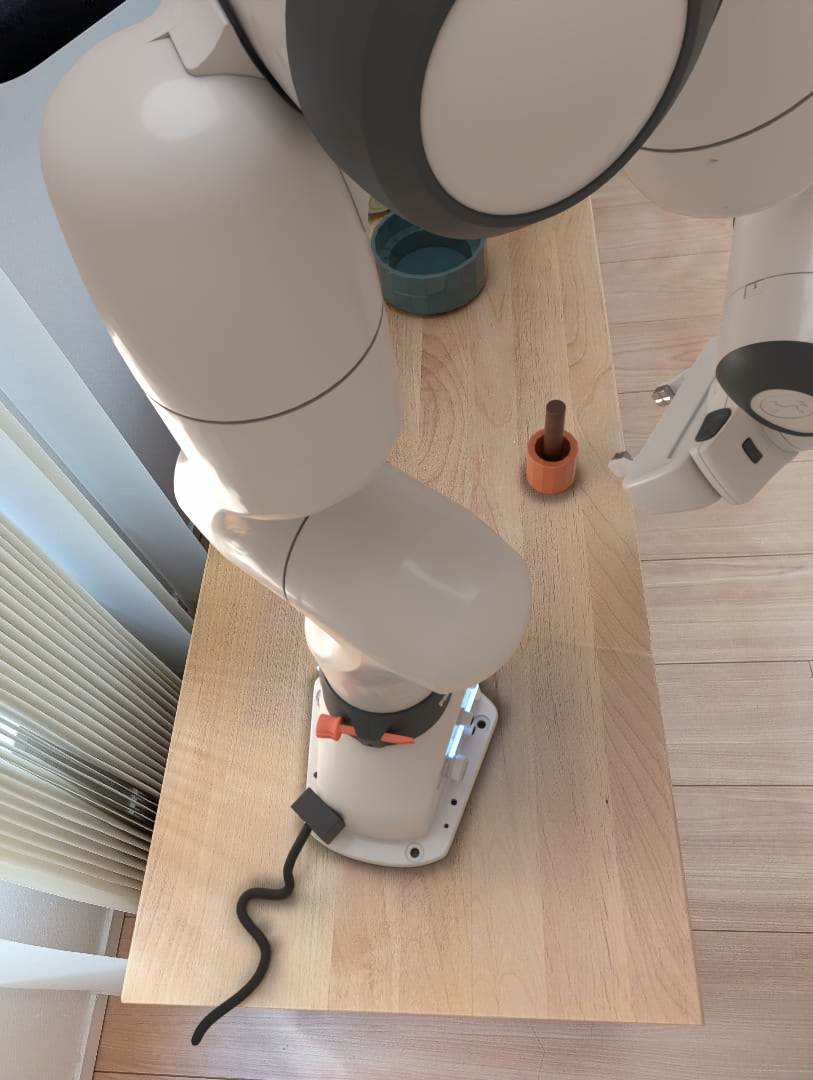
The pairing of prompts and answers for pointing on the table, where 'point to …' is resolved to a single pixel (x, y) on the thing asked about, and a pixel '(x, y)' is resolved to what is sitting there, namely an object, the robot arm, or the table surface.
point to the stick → (554, 430)
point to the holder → (551, 465)
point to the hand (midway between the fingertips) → (636, 430)
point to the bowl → (426, 267)
